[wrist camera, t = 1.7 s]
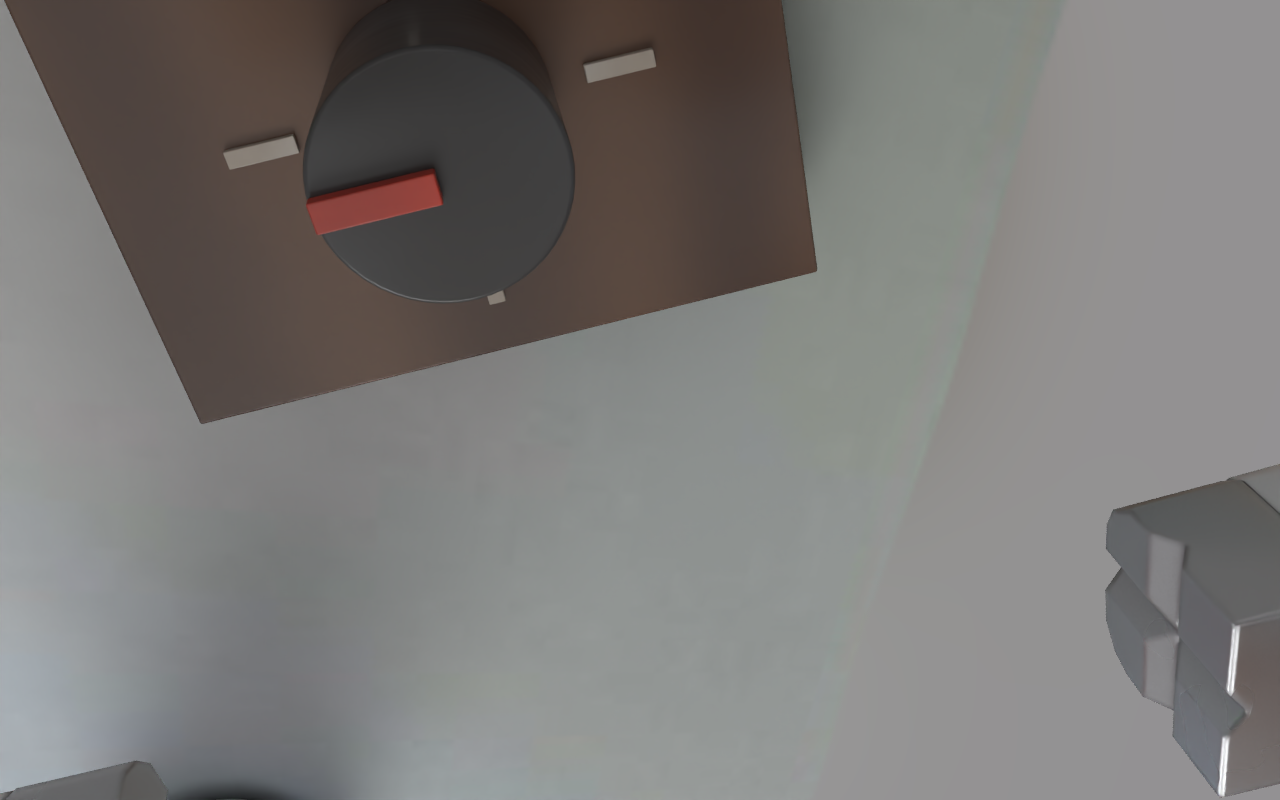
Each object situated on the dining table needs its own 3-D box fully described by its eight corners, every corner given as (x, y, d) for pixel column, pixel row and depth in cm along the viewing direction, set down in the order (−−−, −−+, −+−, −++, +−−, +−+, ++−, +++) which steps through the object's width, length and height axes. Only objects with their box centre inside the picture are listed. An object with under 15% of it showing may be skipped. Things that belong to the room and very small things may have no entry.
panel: (709, -289, 23) (746, -293, 20) (784, 224, 29) (820, 275, 26) (8, -125, 23) (-51, -106, 20) (222, 362, 28) (199, 429, 25)
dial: (523, -34, 22) (541, 19, 18) (575, 185, 24) (603, 277, 20) (293, 21, 22) (258, 87, 18) (367, 236, 24) (351, 339, 20)
